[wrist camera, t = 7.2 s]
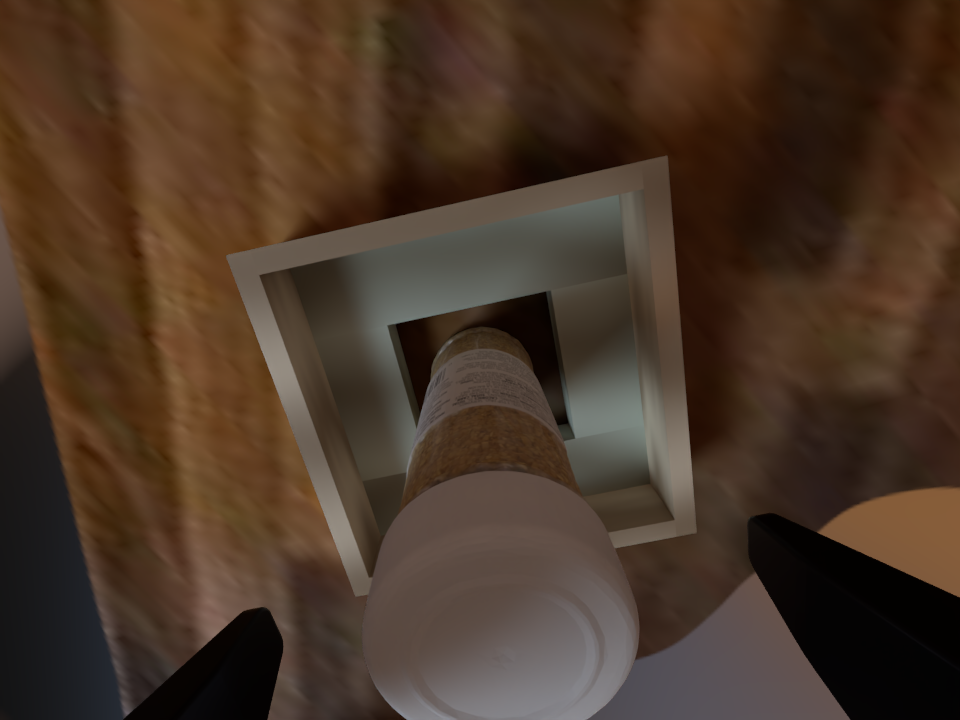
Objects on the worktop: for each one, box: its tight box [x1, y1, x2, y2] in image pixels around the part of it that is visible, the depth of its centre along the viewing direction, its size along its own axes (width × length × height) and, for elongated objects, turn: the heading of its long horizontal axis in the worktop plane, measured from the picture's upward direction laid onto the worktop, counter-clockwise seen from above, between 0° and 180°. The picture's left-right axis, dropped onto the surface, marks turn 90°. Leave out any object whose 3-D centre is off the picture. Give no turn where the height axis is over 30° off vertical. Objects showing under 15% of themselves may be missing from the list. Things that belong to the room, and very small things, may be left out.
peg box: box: [226, 155, 697, 597], centre depth 18 cm, size 14×14×4 cm
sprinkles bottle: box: [362, 327, 640, 720], centre depth 13 cm, size 5×5×14 cm
